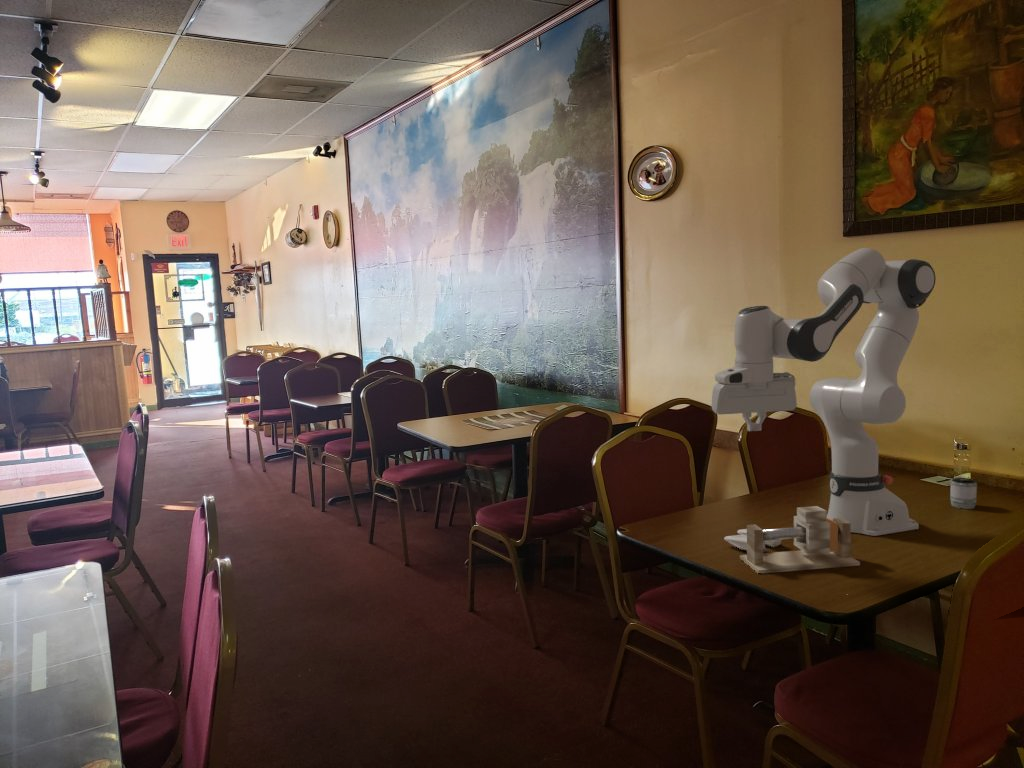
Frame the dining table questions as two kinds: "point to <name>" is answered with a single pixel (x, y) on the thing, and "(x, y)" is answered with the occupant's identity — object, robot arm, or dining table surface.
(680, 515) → the dining table surface
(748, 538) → the stand
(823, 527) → the sleeve
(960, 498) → the grey cylinder
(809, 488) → the dining table surface
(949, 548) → the dining table surface
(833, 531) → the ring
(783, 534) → the pipe
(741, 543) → the pair of white wedges
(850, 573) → the dining table surface
